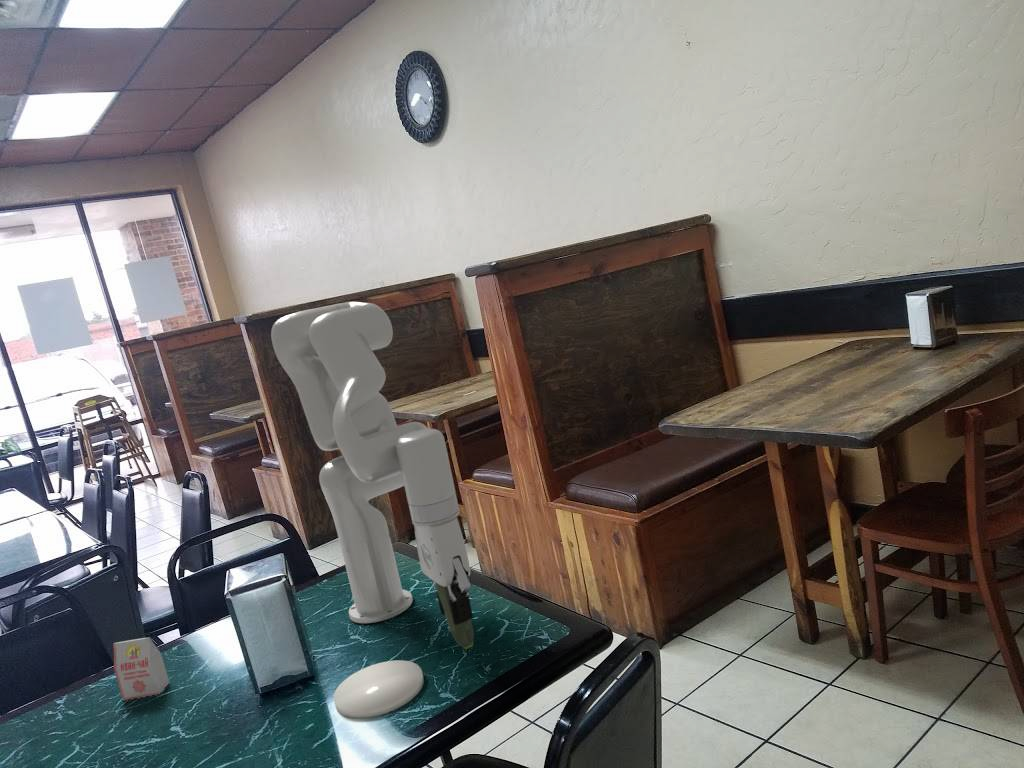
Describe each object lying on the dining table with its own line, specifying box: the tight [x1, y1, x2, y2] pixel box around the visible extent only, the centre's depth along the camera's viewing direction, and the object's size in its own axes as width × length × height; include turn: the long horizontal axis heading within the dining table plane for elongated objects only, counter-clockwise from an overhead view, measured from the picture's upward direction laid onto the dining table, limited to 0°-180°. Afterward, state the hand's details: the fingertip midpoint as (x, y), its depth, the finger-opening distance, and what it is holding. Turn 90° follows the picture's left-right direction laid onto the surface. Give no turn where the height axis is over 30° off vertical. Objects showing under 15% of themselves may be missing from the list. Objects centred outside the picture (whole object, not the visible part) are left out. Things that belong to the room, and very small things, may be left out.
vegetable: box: [435, 576, 475, 650], centre depth 124 cm, size 4×4×20 cm
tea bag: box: [112, 636, 171, 701], centre depth 138 cm, size 4×7×10 cm, turn 87°
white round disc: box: [333, 659, 425, 719], centre depth 123 cm, size 14×14×1 cm
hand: (456, 615), depth 125 cm, fingers closed on vegetable, 4 cm apart
